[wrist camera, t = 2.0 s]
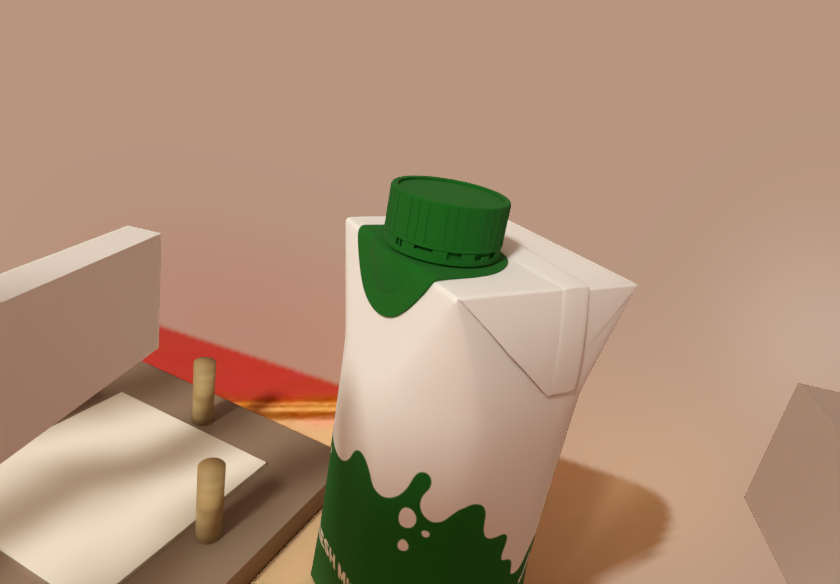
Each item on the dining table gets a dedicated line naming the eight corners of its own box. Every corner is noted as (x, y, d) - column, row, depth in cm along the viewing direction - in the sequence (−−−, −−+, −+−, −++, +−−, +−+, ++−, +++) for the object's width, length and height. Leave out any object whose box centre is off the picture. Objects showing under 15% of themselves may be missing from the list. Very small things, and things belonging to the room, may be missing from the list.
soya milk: (285, 567, 29) (331, 156, 22) (440, 518, 34) (520, 167, 27) (365, 742, 23) (469, 235, 15) (543, 650, 27) (688, 232, 20)
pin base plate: (349, 478, 36) (361, 399, 34) (72, 767, 20) (63, 654, 18) (128, 373, 42) (127, 301, 40) (-216, 535, 26) (-247, 431, 24)
